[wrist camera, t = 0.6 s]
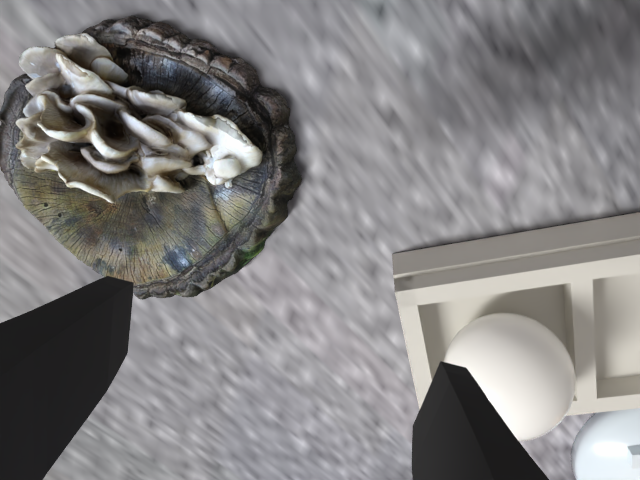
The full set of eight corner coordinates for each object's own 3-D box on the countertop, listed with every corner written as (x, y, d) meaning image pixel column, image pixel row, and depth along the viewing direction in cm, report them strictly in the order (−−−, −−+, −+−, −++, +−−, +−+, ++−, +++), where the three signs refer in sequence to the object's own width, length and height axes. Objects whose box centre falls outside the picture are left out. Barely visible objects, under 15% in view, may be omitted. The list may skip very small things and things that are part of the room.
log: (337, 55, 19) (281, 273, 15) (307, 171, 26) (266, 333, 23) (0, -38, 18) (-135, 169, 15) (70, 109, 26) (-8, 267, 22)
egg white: (556, 376, 21) (598, 464, 17) (445, 389, 22) (460, 476, 18) (549, 281, 19) (593, 355, 15) (429, 299, 20) (441, 374, 16)
